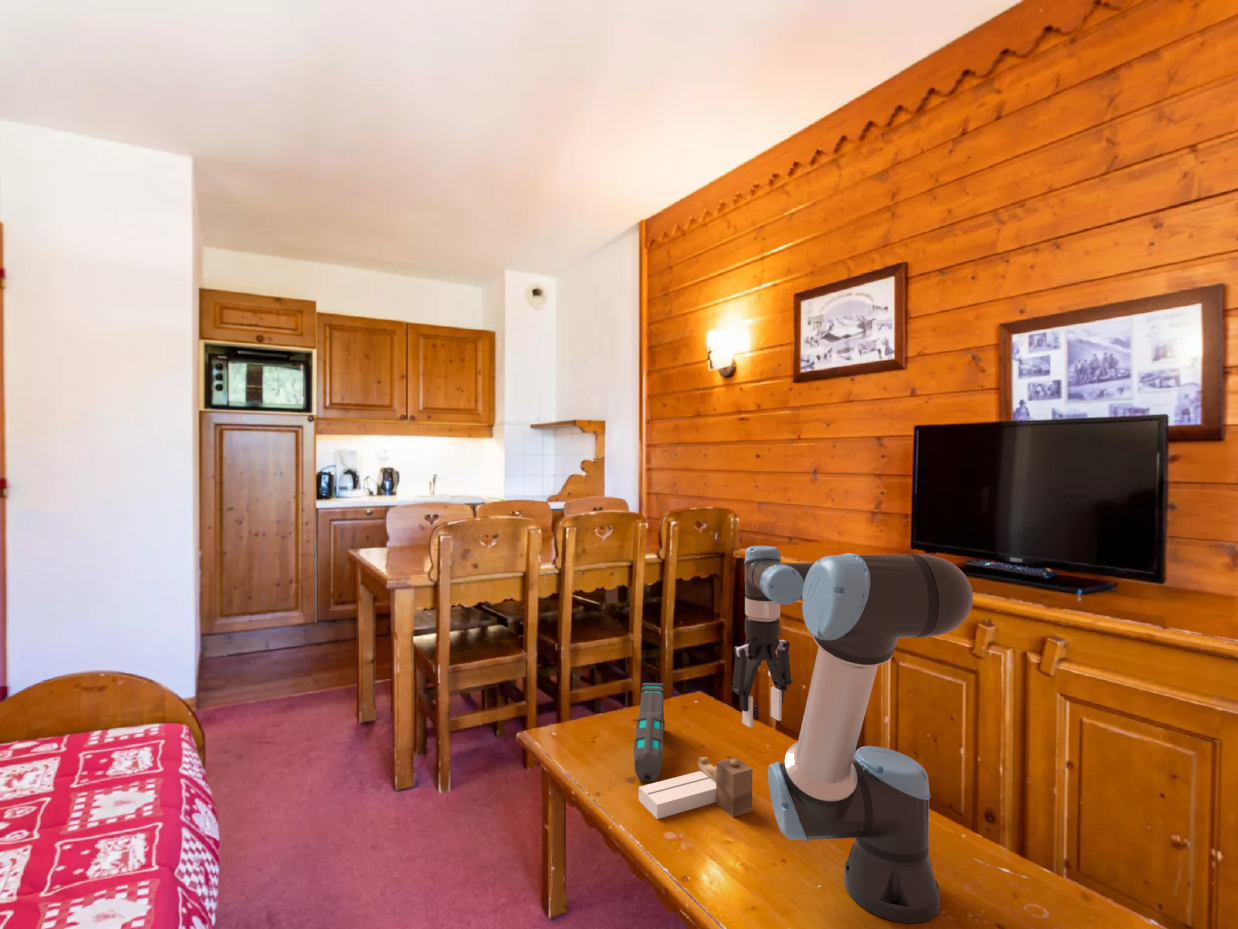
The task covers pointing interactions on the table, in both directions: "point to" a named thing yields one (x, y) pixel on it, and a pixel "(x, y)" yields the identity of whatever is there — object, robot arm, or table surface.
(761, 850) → the table surface
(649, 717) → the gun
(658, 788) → the board
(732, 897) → the table surface
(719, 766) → the brown wooden clamp
